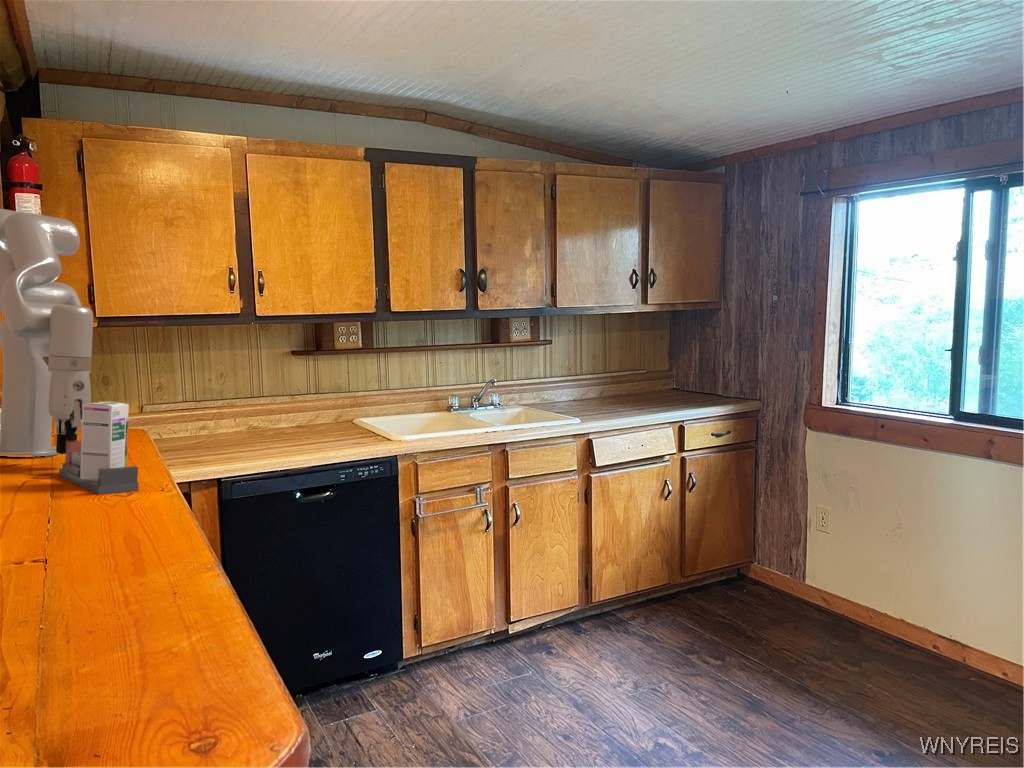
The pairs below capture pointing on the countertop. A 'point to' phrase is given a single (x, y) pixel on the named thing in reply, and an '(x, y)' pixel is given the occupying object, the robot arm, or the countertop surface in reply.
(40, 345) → the robot arm
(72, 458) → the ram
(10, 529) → the countertop surface
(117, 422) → the syrup box
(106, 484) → the press bed
